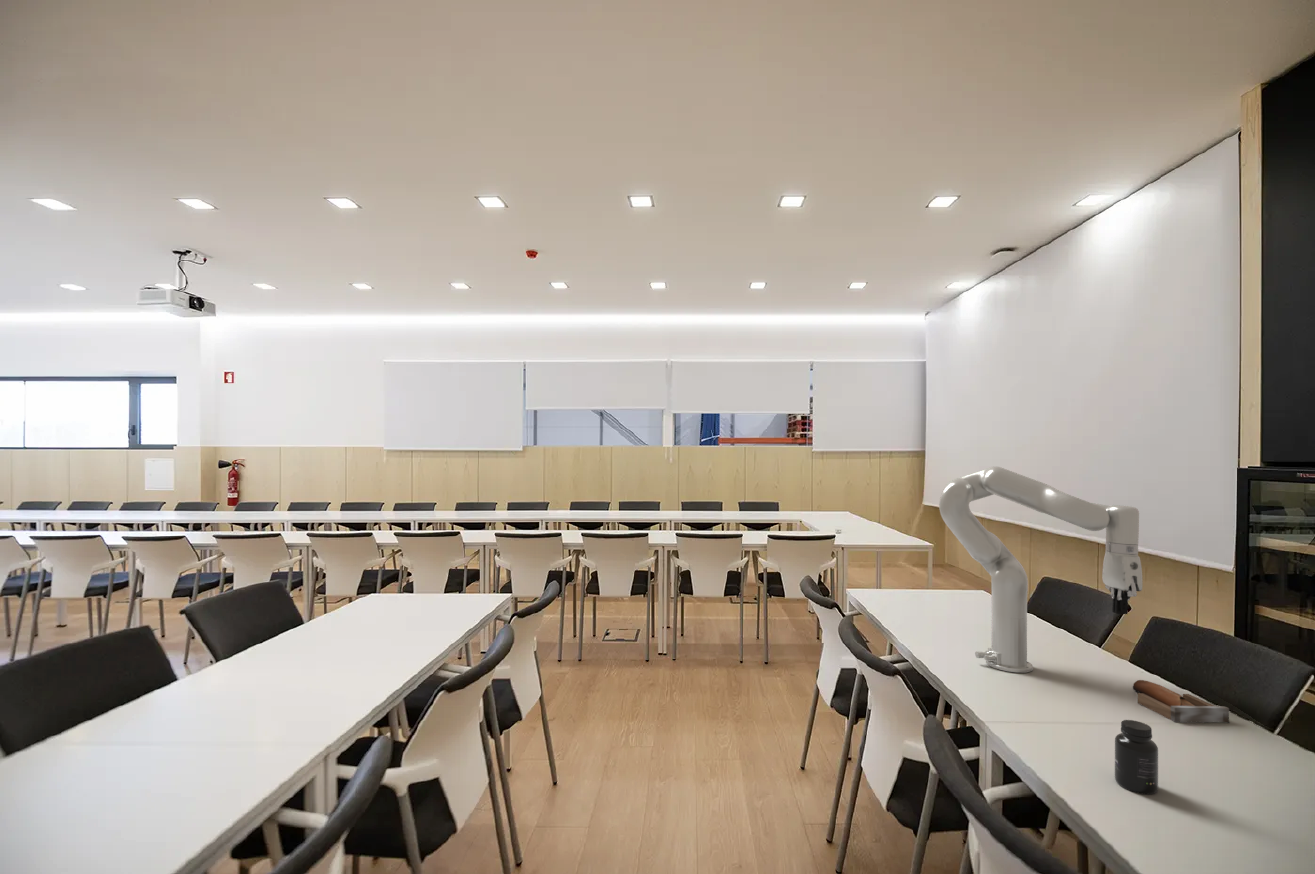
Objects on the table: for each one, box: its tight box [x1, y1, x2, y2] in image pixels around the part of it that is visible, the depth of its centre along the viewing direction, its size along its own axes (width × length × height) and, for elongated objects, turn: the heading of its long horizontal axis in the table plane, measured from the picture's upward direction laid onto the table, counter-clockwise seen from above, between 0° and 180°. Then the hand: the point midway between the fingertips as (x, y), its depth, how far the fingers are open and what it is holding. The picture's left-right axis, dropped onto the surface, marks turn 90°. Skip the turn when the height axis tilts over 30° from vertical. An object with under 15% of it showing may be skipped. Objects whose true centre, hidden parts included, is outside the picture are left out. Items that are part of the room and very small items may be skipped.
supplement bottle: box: [1114, 719, 1159, 795], centre depth 124 cm, size 7×7×12 cm
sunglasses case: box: [1132, 679, 1194, 707], centre depth 165 cm, size 18×7×7 cm
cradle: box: [1137, 692, 1230, 723], centre depth 160 cm, size 13×12×4 cm
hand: (1119, 613), depth 181 cm, fingers closed
